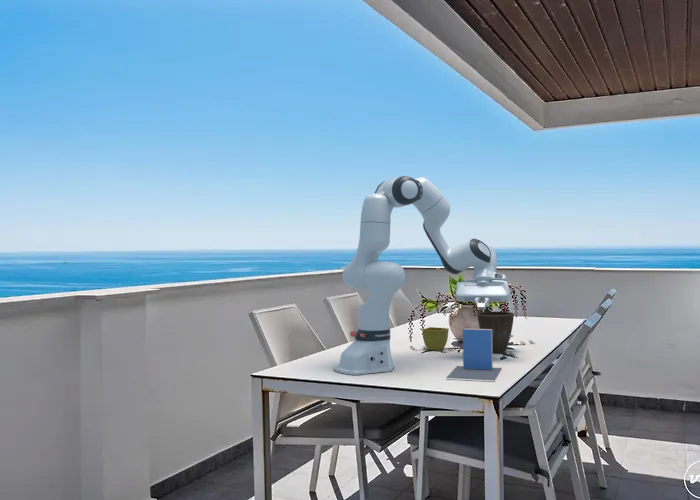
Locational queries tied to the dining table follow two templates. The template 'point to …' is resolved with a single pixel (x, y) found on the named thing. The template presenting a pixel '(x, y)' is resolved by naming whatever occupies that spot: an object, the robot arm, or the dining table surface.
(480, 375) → the charcoal mat
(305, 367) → the dining table surface
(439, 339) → the flower pot
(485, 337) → the upright blue panel
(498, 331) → the plant pot
